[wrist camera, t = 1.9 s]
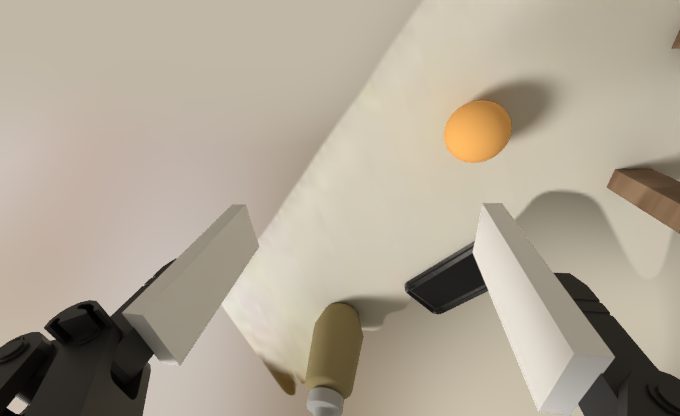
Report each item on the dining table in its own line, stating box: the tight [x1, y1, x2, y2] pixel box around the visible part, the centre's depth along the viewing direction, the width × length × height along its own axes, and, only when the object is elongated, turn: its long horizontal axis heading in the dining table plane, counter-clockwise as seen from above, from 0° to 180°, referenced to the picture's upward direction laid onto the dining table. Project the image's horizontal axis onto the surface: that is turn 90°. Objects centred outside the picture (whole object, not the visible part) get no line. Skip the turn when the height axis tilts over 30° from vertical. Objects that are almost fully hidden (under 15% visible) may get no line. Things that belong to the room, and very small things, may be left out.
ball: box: [444, 100, 512, 163], centre depth 24 cm, size 6×6×6 cm
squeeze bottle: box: [305, 303, 363, 416], centre depth 37 cm, size 8×8×18 cm
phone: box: [405, 241, 488, 314], centre depth 36 cm, size 8×1×15 cm
